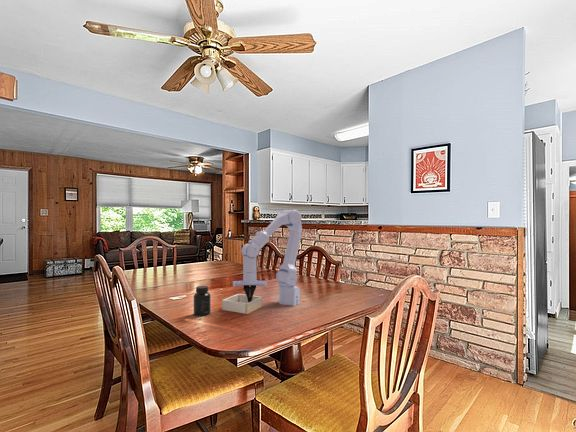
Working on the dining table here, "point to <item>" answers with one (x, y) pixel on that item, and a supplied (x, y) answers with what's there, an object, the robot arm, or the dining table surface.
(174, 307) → the dining table surface
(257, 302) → the flap
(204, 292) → the supplement bottle
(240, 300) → the carton
